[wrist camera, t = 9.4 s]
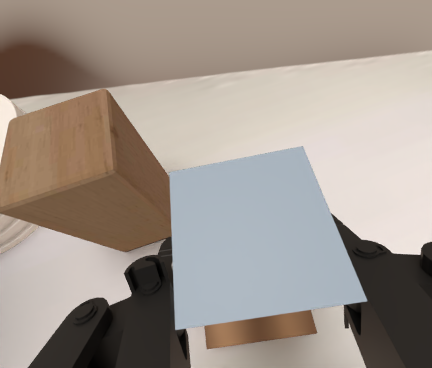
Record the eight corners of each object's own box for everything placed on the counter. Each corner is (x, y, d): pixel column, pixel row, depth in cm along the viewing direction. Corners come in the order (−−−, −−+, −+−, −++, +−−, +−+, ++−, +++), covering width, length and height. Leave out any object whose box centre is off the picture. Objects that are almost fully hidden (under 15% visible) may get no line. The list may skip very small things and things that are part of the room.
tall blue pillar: (229, 308, 16) (175, 330, 5) (221, 253, 18) (169, 172, 7) (283, 300, 16) (367, 301, 4) (269, 244, 18) (302, 146, 6)
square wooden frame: (212, 341, 27) (206, 349, 24) (201, 245, 33) (196, 240, 29) (308, 327, 27) (317, 333, 23) (281, 231, 32) (285, 224, 29)
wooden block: (172, 179, 39) (106, 85, 21) (184, 232, 34) (114, 169, 16) (118, 197, 39) (6, 118, 21) (124, 253, 34) (-14, 212, 16)
